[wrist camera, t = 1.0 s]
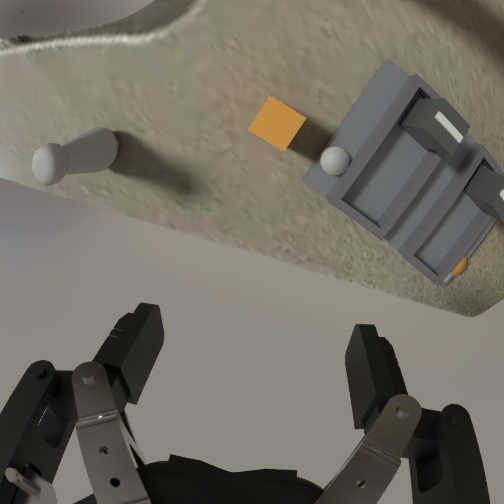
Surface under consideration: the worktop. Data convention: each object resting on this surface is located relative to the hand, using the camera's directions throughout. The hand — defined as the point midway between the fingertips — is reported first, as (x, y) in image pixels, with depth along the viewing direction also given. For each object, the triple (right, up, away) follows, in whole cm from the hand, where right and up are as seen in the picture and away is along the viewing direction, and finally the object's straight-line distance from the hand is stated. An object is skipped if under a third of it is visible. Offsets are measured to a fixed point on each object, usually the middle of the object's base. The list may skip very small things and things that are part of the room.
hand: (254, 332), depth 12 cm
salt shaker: (-19, +17, +22) cm, 34 cm away
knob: (+19, +18, +15) cm, 30 cm away
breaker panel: (+22, +12, +20) cm, 32 cm away
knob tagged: (+29, +12, +17) cm, 36 cm away
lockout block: (+3, +18, +20) cm, 27 cm away
